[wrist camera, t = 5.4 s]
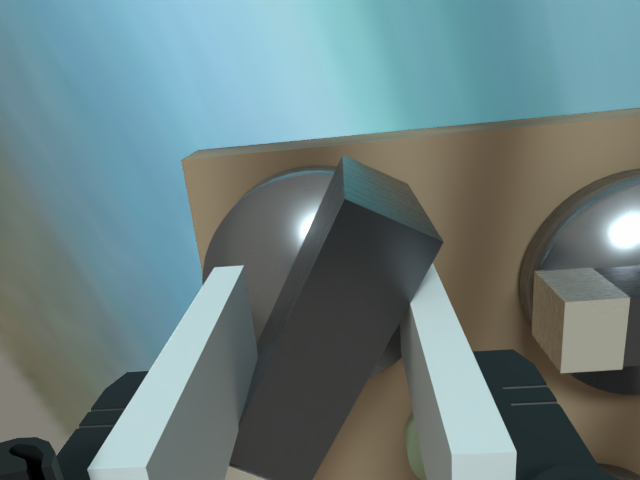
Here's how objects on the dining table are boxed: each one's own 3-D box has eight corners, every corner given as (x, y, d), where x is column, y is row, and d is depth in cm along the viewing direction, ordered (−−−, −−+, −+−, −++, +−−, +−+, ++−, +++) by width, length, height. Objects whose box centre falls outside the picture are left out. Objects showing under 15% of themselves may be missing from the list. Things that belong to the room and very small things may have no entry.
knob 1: (266, 112, 15) (213, 142, 9) (473, 205, 16) (562, 294, 9) (180, 331, 17) (92, 476, 11) (362, 403, 18) (375, 577, 12)
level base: (731, 99, 16) (820, 105, 13) (660, 551, 23) (709, 624, 20) (198, 150, 18) (168, 166, 15) (271, 566, 24) (261, 638, 21)
